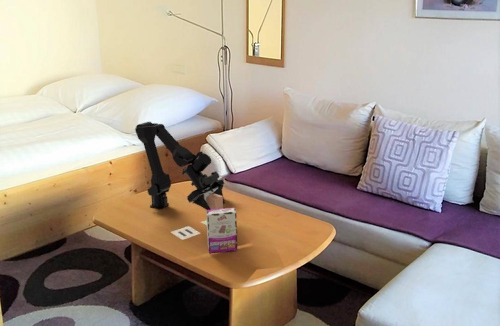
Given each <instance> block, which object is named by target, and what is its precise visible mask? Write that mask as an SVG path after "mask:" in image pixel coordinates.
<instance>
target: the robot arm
mask: <svg viewBox="0 0 500 326" xmlns="http://www.w3.org/2000/svg"><path fill="white" fill-rule="evenodd" d="M134 132H135V133H136V136H137V138H138V140H139V141H140V142H141V143H142V144H143V146H144V149H145V153H146V157H147V161H148V164H149V167H150V171H151V174H152V175H151V178H150V184H151V186H150V187H149V188H148V189H147V194H148V196H150V197H151V198H150V199H151V204H150V205H149V207H150V208H153V209H159V210H163V209H164V208H166V207H167V206H168V205H169V204H170V203H169V201H168V196H167V193H168V192H170V188H171V187H172V181H171V178H170V174H169V173H165V171H164V170H163V166H162V163H161V159H160V156H159V153H158V149H157V146H156V143H155V142H156V141H155V139H156V137H157V138H158V139H159V140H160V141H161V143H162V144H163V145H164V146H165V147H166V149H168V151H169V152H170V153H171V154H172V159H173V161H174V163H175V164H176V165H177V166H178V167H181V168H182V173H181V174H182V175H183V176H184V175H187V177H188V178H189V180H190V181H191V183H190V185H191V187H195V190H192V191H191V192H190V193H189V194H188V195H187V196H186V197H187V201H188V203H189V204H191V203H192V204H194V205H197V206H199V207H201V208H202V209H204V210H211V209H210V207H209V205H208V204H207V202H206V201H205V199H204V193H207V192H209V191H212V192H213V193H212V194H217V195H221V196H223V205H224V204H225V203H226V202H225V198H224V195H223V188H224V185H225V182H224V180H223V179H222V180H221V179H219V180H218V178H219V177H220V175H219V173H218V171H213V172H211V174H210V175H208V174H203V172H204V171H205V170H206V169H207V168H208V167H209V165H210V164H211V163H212V158H211V156H209V155H208V154H206V153H203V151H199V152H197V153H196V154H195V153H192V151H190V150H189V149H188V148H187V147H184V146H182V145H180V143H179V142H178V140H176V139H175V137H173V136H172V134H171V133H170V132H169V131H168V129H166V127H165V124H162V123H157V122H156V123H153V122H152V121H145V122H142V123H138V124H137V125H136V126H135V129H134ZM185 166H186V167H185ZM211 184H212V185H211ZM210 185H211V186H210ZM207 189H208V190H207ZM203 191H204V192H203Z"/></svg>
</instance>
